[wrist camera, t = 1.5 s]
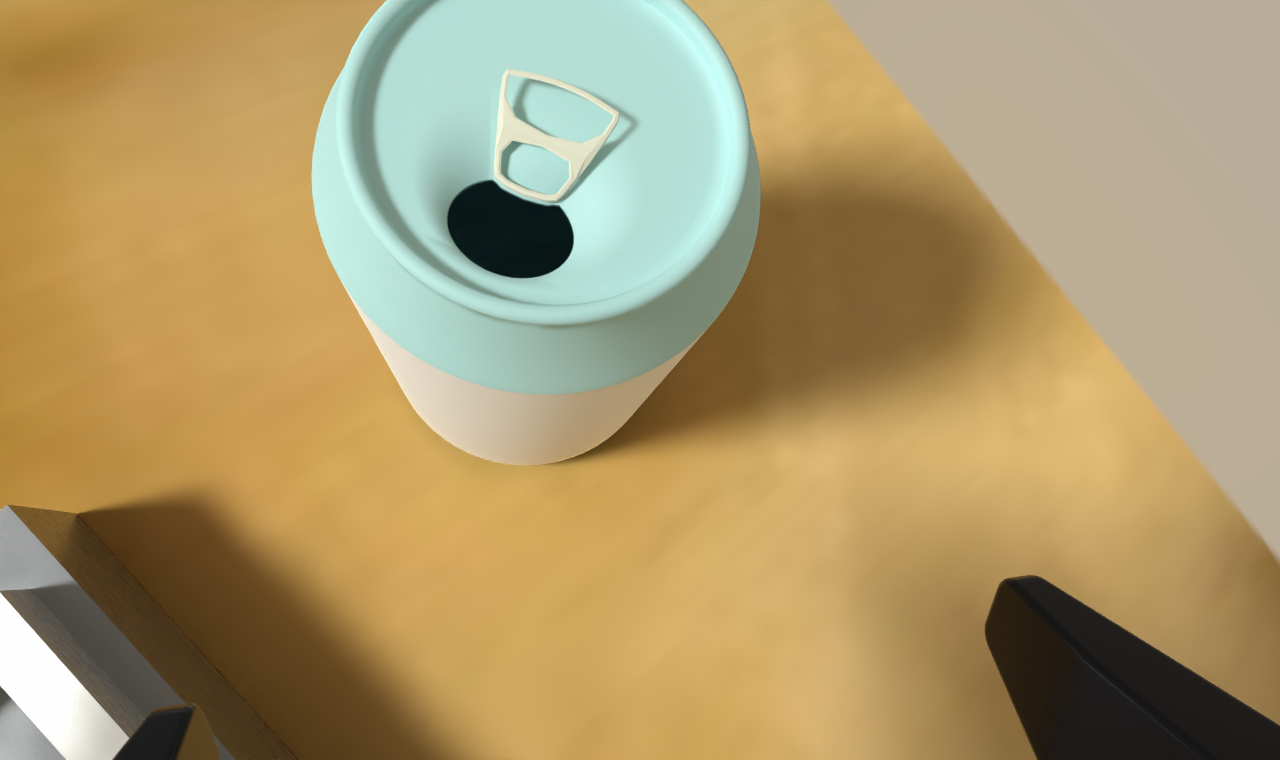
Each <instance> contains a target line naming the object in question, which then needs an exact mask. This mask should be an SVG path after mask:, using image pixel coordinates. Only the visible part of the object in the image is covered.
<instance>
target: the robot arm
mask: <svg viewBox="0 0 1280 760" xmlns="http://www.w3.org/2000/svg"><path fill="white" fill-rule="evenodd" d="M985 637H986V641H987V644H988V647H989V649H990V652H991V654H992V656H993V659H994V661H995V663H996V666H997V668H998V670H999V673H1000V675H1001V677H1002V680H1003V682H1004V684H1005V687H1006V689H1007V691H1008V694H1009V696H1010V698H1011V701H1012V703H1013V705H1014V708H1015V710H1016V712H1017V715H1018V717H1019V719H1020V722H1021V724H1022V726H1023V729H1024V731H1025V733H1026V736H1027V738H1028V740H1029V743H1030V745H1031V747H1032V749H1033V751H1034V753H1035V756H1036V758H1037V760H1280V725H1278V724H1277V723H1275V722H1273V721H1272V720H1270V719H1269V718H1267V717H1265V716H1264V715H1262V714H1260V713H1259V712H1257V711H1256V710H1254V709H1252V708H1251V707H1249V706H1248V705H1246V704H1244V703H1243V702H1241V701H1240V700H1238V699H1236V698H1235V697H1233V696H1232V695H1230V694H1228V693H1227V692H1225V691H1223V690H1222V689H1220V688H1219V687H1217V686H1215V685H1214V684H1212V683H1211V682H1209V681H1207V680H1206V679H1204V678H1203V677H1201V676H1199V675H1198V674H1196V673H1194V672H1193V671H1191V670H1190V669H1188V668H1186V667H1185V666H1183V665H1182V664H1180V663H1178V662H1177V661H1175V660H1174V659H1172V658H1170V657H1169V656H1167V655H1165V654H1164V653H1162V652H1161V651H1159V650H1157V649H1156V648H1154V647H1153V646H1151V645H1149V644H1148V643H1146V642H1145V641H1143V640H1141V639H1140V638H1138V637H1136V636H1135V635H1133V634H1132V633H1130V632H1128V631H1127V630H1125V629H1124V628H1122V627H1120V626H1119V625H1117V624H1116V623H1114V622H1112V621H1111V620H1109V619H1107V618H1106V617H1104V616H1103V615H1101V614H1099V613H1098V612H1096V611H1095V610H1093V609H1091V608H1090V607H1088V606H1087V605H1085V604H1083V603H1082V602H1080V601H1079V600H1077V599H1075V598H1074V597H1072V596H1070V595H1069V594H1067V593H1066V592H1064V591H1062V590H1061V589H1059V588H1058V587H1056V586H1054V585H1053V584H1051V583H1050V582H1048V581H1046V580H1045V579H1043V578H1041V577H1038V576H1035V575H1026V576H1020V577H1013V578H1007V579H1004V580H1003V581H1002V582H1001V583H1000V584H999V586H998V588H997V591H996V594H995V597H994V600H993V603H992V605H991V608H990V611H989V614H988V617H987V620H986V623H985ZM112 760H220V754H219V750H218V747H217V744H216V742H215V740H214V737H213V735H212V733H211V730H210V728H209V725H208V723H207V721H206V718H205V716H204V713H203V711H202V710H201V708H200V707H199V706H198V705H197V704H195V703H188V704H181V705H175V706H168V707H162V708H158V709H156V710H154V711H152V712H151V713H150V714H149V715H148V716H147V717H146V718H145V719H144V720H143V722H142V723H141V724H140V725H139V727H138V728H137V729H136V730H135V732H134V733H133V734H132V735H131V736H130V738H129V739H128V740H127V741H126V743H125V744H124V745H123V746H122V748H121V749H120V750H119V751H118V753H117V754H116V755H115V756H114V758H113V759H112Z"/></svg>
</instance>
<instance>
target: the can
mask: <svg viewBox="0 0 1280 760" xmlns="http://www.w3.org/2000/svg"><path fill="white" fill-rule="evenodd" d="M312 194H313V202H314V208H315V215H316V219H317V223H318V227H319V231H320V234H321V238H322V241H323V243H324V246H325V248H326V251H327V254H328V256H329V259H330V261H331V263H332V265H333V267H334V269H335V270H336V272H337V274H338V276H339V278H340V280H341V282H342V284H343V285H344V287H345V289H346V291H347V292H348V294H349V296H350V298H351V300H352V301H353V303H354V305H355V307H356V308H357V310H358V312H359V314H360V316H361V317H362V319H363V321H364V323H365V324H366V326H367V328H368V330H369V332H370V333H371V335H372V337H373V339H374V340H375V342H376V344H377V346H378V347H379V349H380V351H381V353H382V355H383V356H384V358H385V360H386V362H387V363H388V365H389V367H390V369H391V371H392V372H393V374H394V376H395V378H396V379H397V381H398V383H399V385H400V387H401V388H402V390H403V392H404V394H405V395H406V397H407V399H408V400H409V402H410V403H411V405H412V407H413V408H414V410H415V411H416V412H417V413H418V415H419V416H420V417H421V418H422V419H423V421H424V422H425V423H426V424H427V425H428V426H429V427H430V428H431V429H432V430H434V431H435V432H436V433H437V434H438V435H440V436H441V437H442V438H443V439H445V440H446V441H448V442H449V443H451V444H452V445H454V446H456V447H458V448H459V449H461V450H463V451H465V452H467V453H470V454H472V455H474V456H477V457H479V458H483V459H486V460H489V461H493V462H498V463H503V464H510V465H542V464H549V463H554V462H559V461H563V460H566V459H570V458H573V457H575V456H578V455H580V454H582V453H585V452H587V451H589V450H591V449H592V448H594V447H596V446H598V445H599V444H601V443H602V442H604V441H605V440H607V439H608V438H609V437H610V436H612V435H613V434H614V433H615V432H617V431H618V430H619V429H620V428H621V427H622V426H623V425H624V424H625V423H626V422H627V421H628V419H629V418H630V417H631V416H632V415H633V414H634V413H635V411H636V410H637V409H638V408H639V407H640V406H641V405H642V403H643V402H644V401H645V400H646V399H647V398H648V397H649V395H650V394H651V393H652V392H653V391H654V390H655V389H656V387H657V386H658V385H659V384H660V383H661V382H662V381H663V379H664V378H665V377H666V376H667V375H668V374H669V373H670V371H671V370H672V369H673V368H674V367H675V366H676V364H677V363H678V362H679V361H680V360H681V359H682V358H683V356H684V355H685V354H686V353H687V352H688V351H689V350H690V348H691V347H692V346H693V345H694V344H695V343H696V342H697V340H698V339H699V338H700V337H701V336H702V335H703V334H704V332H705V331H706V330H707V329H708V328H709V327H710V326H711V324H712V323H713V322H714V321H715V320H716V318H717V317H718V316H719V315H720V313H721V312H722V311H723V310H724V308H725V307H726V305H727V304H728V302H729V301H730V299H731V298H732V296H733V294H734V293H735V291H736V289H737V287H738V285H739V283H740V281H741V280H742V278H743V276H744V274H745V271H746V268H747V266H748V263H749V261H750V258H751V255H752V251H753V248H754V244H755V240H756V236H757V230H758V224H759V218H760V200H761V188H760V171H759V164H758V158H757V152H756V148H755V144H754V140H753V136H752V133H751V130H750V123H749V116H748V110H747V106H746V102H745V98H744V94H743V91H742V88H741V85H740V83H739V80H738V77H737V75H736V72H735V70H734V68H733V66H732V64H731V62H730V60H729V58H728V56H727V55H726V53H725V51H724V49H723V48H722V46H721V44H720V43H719V41H718V40H717V39H716V37H715V36H714V34H713V33H712V32H711V30H710V29H709V28H708V27H707V25H706V24H705V23H704V22H703V21H702V20H701V18H700V17H699V16H698V15H697V14H696V13H695V12H694V11H693V10H692V9H691V8H690V7H689V6H688V5H687V4H686V3H685V2H684V1H683V0H386V1H385V2H384V3H383V5H382V6H381V7H380V8H379V9H378V10H377V11H376V12H375V14H374V15H373V16H372V17H371V19H370V20H369V22H368V23H367V24H366V26H365V27H364V29H363V30H362V31H361V33H360V35H359V37H358V39H357V40H356V42H355V44H354V46H353V48H352V50H351V52H350V55H349V57H348V60H347V62H346V64H345V67H344V68H343V70H342V71H341V73H340V75H339V77H338V79H337V80H336V82H335V84H334V86H333V88H332V90H331V92H330V94H329V97H328V99H327V101H326V104H325V106H324V109H323V112H322V116H321V119H320V122H319V126H318V130H317V134H316V140H315V145H314V151H313V162H312Z"/></svg>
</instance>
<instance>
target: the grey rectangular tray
mask: <svg viewBox="0 0 1280 760" xmlns="http://www.w3.org/2000/svg"><path fill="white" fill-rule="evenodd" d="M188 703H195V704H197V705H198V706H199V707H200V708H201V710H202V711H203V713H204V716H205V718H206V721H207V723H208V725H209V728H210V730H211V733H212V735H213V737H214V740H215V742H216V744H217V747H218V750H219V754H220V760H297V758H296V757H295V756H294V755H293V754H292V753H291V752H290V751H289V750H288V748H287V747H286V746H285V745H284V744H283V743H282V742H281V741H280V740H279V738H278V737H277V736H276V735H275V734H274V733H273V732H272V731H271V730H270V728H269V727H268V726H267V725H266V724H265V723H264V722H263V721H262V720H261V718H260V717H259V716H258V715H257V714H256V713H255V712H254V711H253V710H252V708H251V707H250V706H249V705H248V704H247V703H246V702H245V701H244V700H243V698H242V697H241V696H240V695H239V694H238V693H237V692H236V691H235V690H234V689H233V687H232V686H231V685H230V684H229V683H228V682H227V681H226V680H225V679H224V677H223V676H222V675H221V674H220V673H219V672H218V671H217V670H216V669H215V667H214V666H213V665H212V664H211V663H210V662H209V661H208V660H207V659H206V657H205V656H204V655H203V654H202V653H201V652H200V651H199V650H198V649H197V647H196V646H195V645H194V644H193V643H192V642H191V641H190V640H189V639H188V637H187V636H186V635H185V634H184V633H183V632H182V631H181V630H180V629H179V627H178V626H177V625H176V624H175V623H174V622H173V621H172V620H171V619H170V618H169V616H168V615H167V614H166V613H165V612H164V611H163V610H162V609H161V608H160V606H159V605H158V604H157V603H156V602H155V601H154V600H153V599H152V598H151V596H150V595H149V594H148V593H147V592H146V591H145V590H144V589H143V588H142V586H141V585H140V584H139V583H138V582H137V581H136V580H135V579H134V578H133V576H132V575H131V574H130V573H129V572H128V571H127V570H126V569H125V568H124V566H123V565H122V564H121V563H120V562H119V561H118V560H117V559H116V558H115V556H114V555H113V554H112V553H111V552H110V551H109V550H108V549H107V548H106V546H105V545H104V544H103V543H102V542H101V541H100V540H99V539H98V538H97V537H96V535H95V534H94V533H93V532H92V531H91V530H90V529H89V528H88V527H87V525H86V524H85V523H84V522H83V521H82V520H81V519H80V518H79V517H78V515H77V514H76V513H69V512H61V511H53V510H45V509H37V508H29V507H21V506H13V505H6V506H5V507H4V508H2V509H1V510H0V760H112V759H113V758H114V756H115V755H116V754H117V753H118V751H119V750H120V749H121V748H122V746H123V745H124V744H125V743H126V741H127V740H128V739H129V738H130V736H131V735H132V734H133V733H134V732H135V730H136V729H137V728H138V727H139V725H140V724H141V723H142V722H143V720H144V719H145V718H146V717H147V716H148V715H149V714H150V713H151V712H152V711H154V710H156V709H158V708H162V707H168V706H175V705H181V704H188Z"/></svg>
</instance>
